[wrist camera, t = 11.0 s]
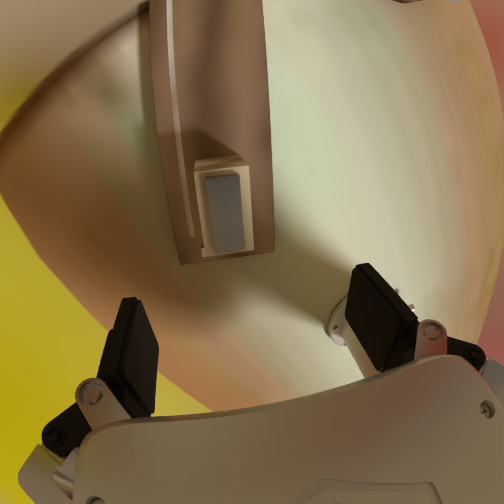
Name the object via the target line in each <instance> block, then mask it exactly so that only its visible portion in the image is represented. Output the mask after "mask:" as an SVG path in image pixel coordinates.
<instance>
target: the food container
mask: <svg viewBox="0 0 504 504" xmlns="http://www.w3.org/2000/svg"><path fill="white" fill-rule="evenodd" d="M394 1H396V2H400V3H410V2H415V1H421V0H394ZM448 1H452V2H457V1H460V0H448Z"/></svg>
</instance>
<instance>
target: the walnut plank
mask: <svg viewBox="0 0 504 504" xmlns="http://www.w3.org/2000/svg"><path fill="white" fill-rule="evenodd" d="M149 20H150V54H151V71H152V85H153V97H154V107H155V117H156V126H157V134H158V142H159V150H160V157H161V164H162V170H163V177H164V183H165V189H166V195H167V201H168V206H169V212H170V217H171V222H172V227H173V233H174V237H175V242H176V247H177V252H178V256H179V261H180V265H183V264H191V263H198V262H205V261H212V260H219V259H226V258H233V257H241V256H248V255H255V254H262V253H269V252H275V244H274V204H273V174H272V148H271V127H270V107H269V89H268V73H267V57H266V43H265V30H264V17H263V5H262V0H150V3H149ZM236 155H240V156H241V157H242V158H243V159H244V161H245V162H246V163H247V164H248V165H249V176H250V192H251V208H252V224H253V240H254V250H248V251H241V252H233V253H226V254H219V255H212V256H206V255H205V248H204V242H203V236H202V229H201V222H200V216H199V209H198V201H197V194H196V187H195V179H194V165H195V160H201V159H209V158H217V157H226V156H236Z"/></svg>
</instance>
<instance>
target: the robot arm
mask: <svg viewBox="0 0 504 504" xmlns="http://www.w3.org/2000/svg"><path fill="white" fill-rule="evenodd" d="M414 310H415V308H414V305H413V304H410V305H407V304H406V303H405V302H404V301H403V300H402V299H401V297H400V296H399V295H398V294H397V293H396V292H395V290H394V289H393V288H392V287H391V286H390V285H389V284H388V283H387V282H386V281H385V280H384V278H383V277H382V276H381V275H380V274H379V273H378V272H377V271H376V270H375V269H374V268H373V267H372V266H371V265H370V264H369V263H363V264H358V265H356V267H355V268H354V269H353V270H352V276H351V281H350V287H349V293H348V296H347V297H346V298H345V299H344V300H343V301H342V302H341V303H340V304H339V305H338V307H337V308H336V309H335V311H334V312H333V314H332V316H331V318H330V321H329V325H328V331H329V335H330V337H331V338H332V340H333V341H334V342H335V343H336V344H338V345H340V346H347V347H348V349H349V350H350V352H351V354H352V356H353V358H354V360H355V361H356V363H357V365H358V367H359V369H360V371H361V372H362V374H363V376H364V378H365V379H362V380H359V381H356V382H353V383H350V384H346V385H343V386H340V387H336V388H333V389H329V390H326V391H322V392H318V393H315V394H311V395H307V396H303V397H298V398H294V399H290V400H285V401H280V402H275V403H270V404H265V405H259V406H254V407H248V408H241V409H234V410H227V411H219V412H210V413H200V414H188V415H175V416H158V417H151V414H153V413H154V411H155V393H156V378H157V365H158V354H159V346H158V342H157V340H156V337H155V335H154V332H153V330H152V327H151V325H150V322H149V320H148V317H147V315H146V312H145V310H144V307H143V304H142V302H141V300H137V298H136V297H129V298H123V299H122V301H121V304H120V307H119V310H118V314H117V317H116V320H115V323H114V327H113V329H111V330H110V331H109V333H108V336H107V339H106V343H105V346H104V350H103V354H102V358H101V361H100V365H99V369H98V373H97V377H96V378H89V379H86V380H84V381H83V382H82V383H81V384H79V386H78V387H77V389H76V392H75V399H76V402H75V403H74V404H73V405H71V406H70V407H69V408H68V409H66V410H65V411H64V412H62V413H61V414H60V415H58V416H57V417H56V418H54V419H53V420H52V421H50V422H49V423H48V424H47V425H46V426H45V427H44V429H43V431H42V442H43V443H42V444H41V445H39V444H38V445H37V446H36V447H35V449H34V450H33V452H32V453H31V454H30V456H29V457H28V459H27V460H26V462H25V463H24V465H23V466H22V468H21V469H20V471H19V473H18V481H19V484H20V486H21V488H22V489H23V490H24V491H25V492H26V494H27V495H28V496H29V497H30V498H31V499H32V500H33V501H34V502H35V504H504V366H503V365H501V364H499V363H498V362H496V361H494V360H492V359H491V358H488V359H486V356H485V354H484V351H483V350H482V349H481V348H480V347H479V346H477V345H475V344H472V343H468V342H465V341H461V340H458V339H455V338H451V337H448V336H447V332H446V329H445V327H444V326H443V325H442V324H441V323H439V322H438V321H435V320H430V319H427V320H423V321H421V322H420V323H419V321H418V320H417V319H418V317H417V316H416V315H415V313H413V312H414Z"/></svg>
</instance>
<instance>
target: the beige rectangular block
mask: <svg viewBox="0 0 504 504" xmlns="http://www.w3.org/2000/svg"><path fill="white" fill-rule="evenodd" d="M194 179H195V187H196V194H197V201H198V209H199V216H200V222H201V229H202V236H203V242H204V248H205V255H206V256H212V255H219V254H226V253H233V252H241V251H248V250H254V240H253V224H252V208H251V192H250V176H249V165H248V164H247V163H246V162H245V161H244V159H243V158H242V157H241V156H240V155H236V156H226V157H217V158H209V159H201V160H195V165H194Z"/></svg>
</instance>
